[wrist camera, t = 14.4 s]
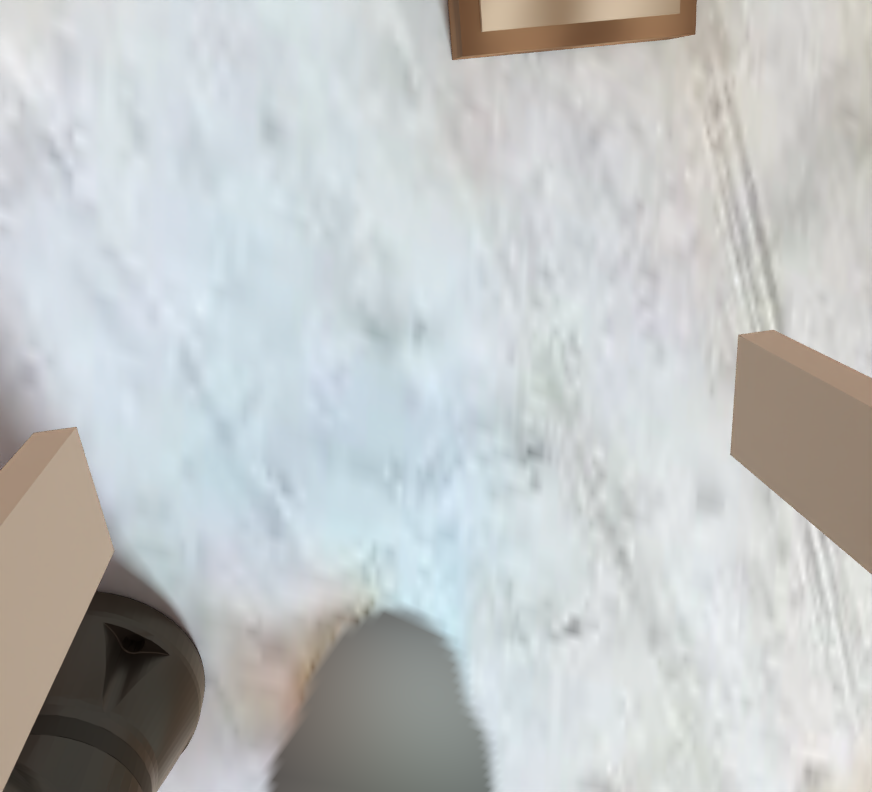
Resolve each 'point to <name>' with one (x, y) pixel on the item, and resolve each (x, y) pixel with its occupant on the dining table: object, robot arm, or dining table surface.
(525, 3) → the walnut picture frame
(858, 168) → the dining table surface
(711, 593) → the dining table surface
